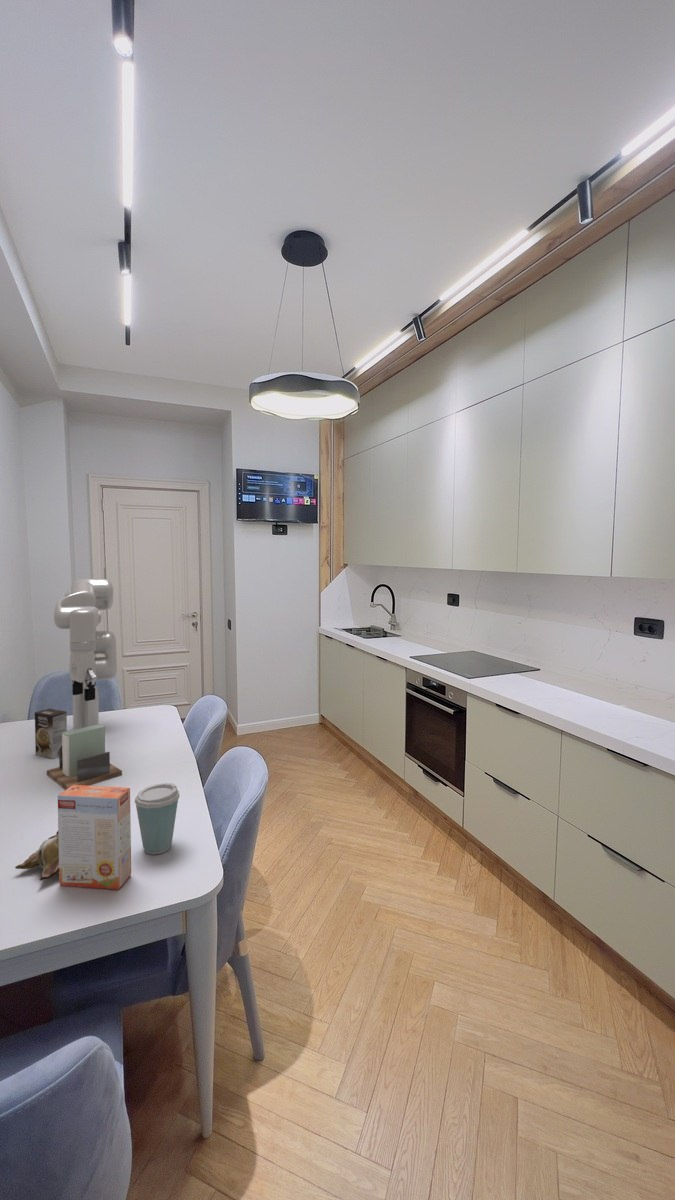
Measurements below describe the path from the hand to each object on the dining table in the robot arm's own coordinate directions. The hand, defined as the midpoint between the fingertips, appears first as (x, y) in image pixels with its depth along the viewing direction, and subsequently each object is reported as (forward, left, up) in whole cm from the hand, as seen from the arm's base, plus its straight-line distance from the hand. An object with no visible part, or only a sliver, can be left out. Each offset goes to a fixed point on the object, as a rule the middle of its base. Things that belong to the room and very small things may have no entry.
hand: (83, 697), depth 165 cm
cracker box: (+60, -21, -27) cm, 69 cm away
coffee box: (-26, -1, -27) cm, 38 cm away
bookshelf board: (+1, 0, -26) cm, 26 cm away
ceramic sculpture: (+48, -25, -27) cm, 60 cm away
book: (0, 0, -25) cm, 25 cm away
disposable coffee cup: (+58, -5, -27) cm, 64 cm away
